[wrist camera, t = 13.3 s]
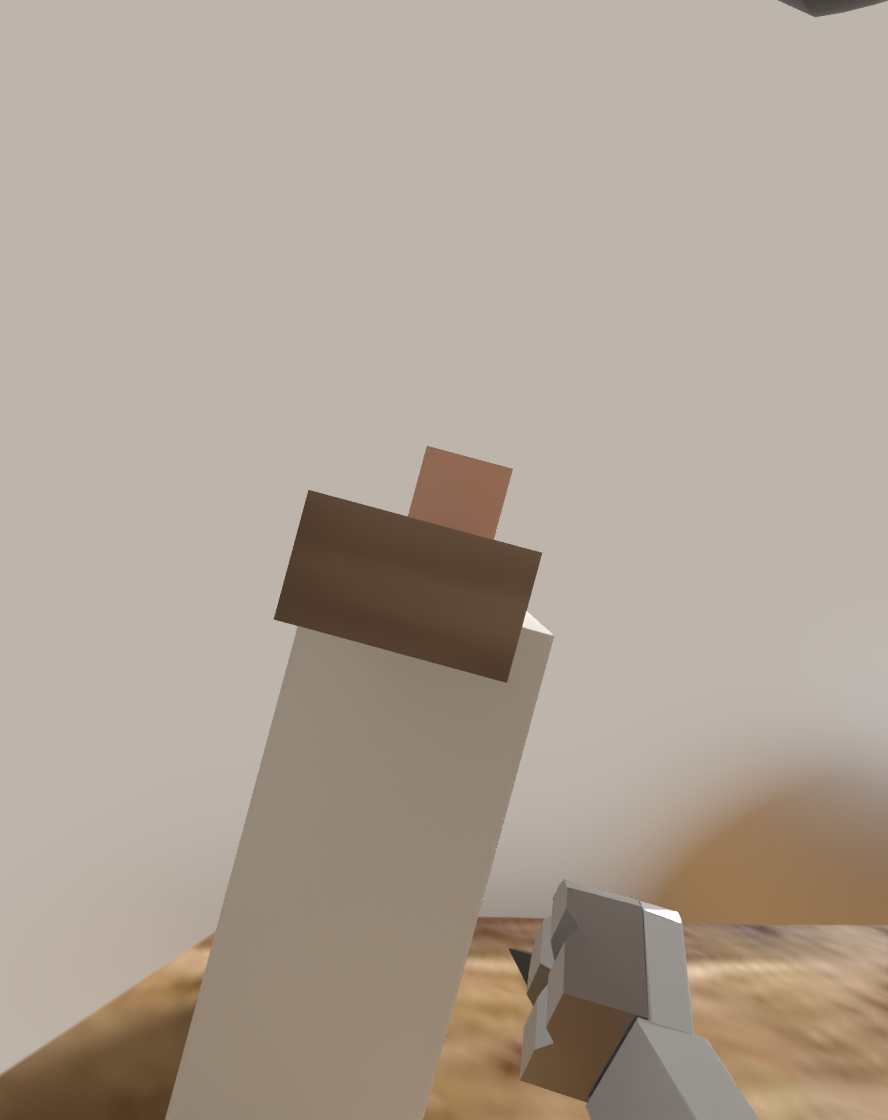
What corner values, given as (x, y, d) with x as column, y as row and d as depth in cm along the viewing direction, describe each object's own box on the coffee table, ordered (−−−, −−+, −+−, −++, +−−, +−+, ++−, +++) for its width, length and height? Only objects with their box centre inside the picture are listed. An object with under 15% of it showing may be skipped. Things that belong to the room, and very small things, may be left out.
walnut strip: (391, 581, 42) (404, 532, 41) (478, 604, 41) (491, 556, 41) (273, 619, 16) (308, 489, 16) (507, 682, 15) (542, 552, 15)
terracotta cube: (409, 534, 41) (430, 456, 41) (486, 555, 41) (507, 477, 41) (403, 531, 37) (426, 445, 37) (489, 554, 37) (512, 469, 37)
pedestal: (250, 988, 50) (363, 567, 49) (412, 1034, 49) (526, 611, 49) (145, 1192, 34) (312, 570, 33) (383, 1263, 33) (554, 635, 33)
